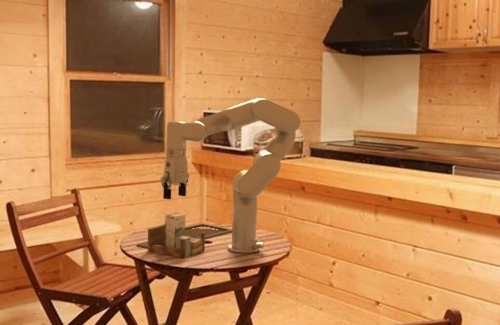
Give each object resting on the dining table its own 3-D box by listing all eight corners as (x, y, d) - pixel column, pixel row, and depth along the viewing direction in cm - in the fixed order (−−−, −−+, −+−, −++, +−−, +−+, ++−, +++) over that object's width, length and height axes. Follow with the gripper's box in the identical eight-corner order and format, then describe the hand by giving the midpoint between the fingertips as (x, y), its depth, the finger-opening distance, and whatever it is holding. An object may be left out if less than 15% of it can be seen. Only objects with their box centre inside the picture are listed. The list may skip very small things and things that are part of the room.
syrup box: (174, 247, 232) (175, 211, 230) (185, 250, 228) (185, 214, 226) (163, 250, 227) (164, 213, 226) (174, 253, 224) (174, 216, 222)
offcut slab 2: (202, 252, 228) (202, 245, 228) (193, 255, 222) (193, 249, 222) (191, 250, 230) (192, 243, 230) (182, 253, 225) (182, 247, 224)
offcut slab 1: (202, 245, 228) (202, 239, 228) (194, 249, 222) (194, 242, 222) (191, 243, 230) (191, 237, 230) (183, 247, 224) (183, 240, 224)
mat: (161, 245, 235) (161, 243, 235) (150, 248, 229) (150, 247, 229) (147, 242, 238) (147, 241, 238) (136, 246, 232) (136, 244, 232)
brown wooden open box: (205, 249, 230) (206, 227, 229) (182, 258, 216) (183, 234, 215) (171, 243, 238) (172, 222, 237) (147, 251, 224) (148, 228, 223)
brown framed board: (160, 232, 253) (206, 222, 276) (160, 236, 253) (206, 225, 277) (193, 240, 241) (237, 228, 265) (193, 243, 241) (237, 232, 265)
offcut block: (190, 254, 222) (190, 236, 221) (185, 257, 218) (185, 239, 218) (181, 253, 223) (181, 235, 223) (176, 256, 220) (176, 237, 219)
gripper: (170, 155, 214) (169, 201, 216) (196, 153, 229) (195, 195, 231) (154, 154, 218) (153, 199, 220) (181, 151, 233) (179, 193, 235)
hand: (174, 197), depth 225 cm, fingers open, 9 cm apart
